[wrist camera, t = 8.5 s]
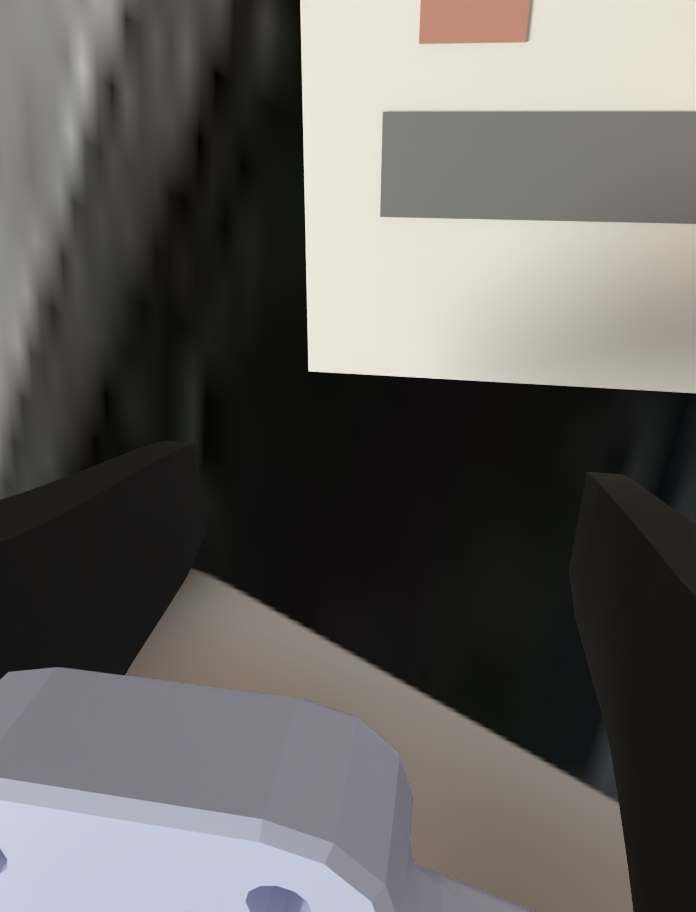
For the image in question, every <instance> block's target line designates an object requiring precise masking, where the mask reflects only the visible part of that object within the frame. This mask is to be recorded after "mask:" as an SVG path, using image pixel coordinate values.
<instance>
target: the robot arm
mask: <svg viewBox="0 0 696 912" xmlns="http://www.w3.org/2000/svg"><path fill="white" fill-rule="evenodd" d="M204 536H205V527H204V518H203V508H202V499H201V489H200V479H199V470H198V460H197V451H196V443H191V442H177V441H162V442H157V443H154V444H150V445H147V446H145V447H142V448H139V449H136V450H134V451H131V452H128V453H126V454H123V455H121V456H118V457H116V458H113V459H111V460H108V461H106V462H104V463H101V464H99V465H96V466H94V467H91V468H89V469H86V470H84V471H81V472H79V473H76V474H73V475H71V476H68V477H65V478H63V479H60V480H57V481H54V482H52V483H49V484H46V485H43V486H41V487H38V488H35V489H33V490H30V491H27V492H24V493H21V494H18V495H15V496H11V497H8V498H5V499H2V500H0V912H535V911H533V910H530V909H528V908H525V907H523V906H520V905H518V904H515V903H513V902H510V901H508V900H505V899H503V898H500V897H498V896H495V895H493V894H490V893H488V892H485V891H483V890H480V889H478V888H475V887H473V886H470V885H468V884H465V883H463V882H460V881H458V880H455V879H453V878H450V877H448V876H445V875H443V874H440V873H438V872H435V871H433V870H430V869H428V868H425V867H423V866H420V865H418V864H415V862H414V860H413V858H412V851H411V844H410V832H411V818H412V804H413V796H412V793H411V789H410V786H409V783H408V780H407V776H406V773H405V770H404V767H403V763H402V760H401V757H400V755H399V754H398V753H397V752H396V751H395V750H394V749H392V748H391V747H390V746H389V745H388V744H387V743H386V742H384V741H383V740H382V739H381V738H380V737H379V736H378V735H376V734H375V733H374V732H373V731H372V730H370V728H369V727H367V726H366V725H365V724H364V723H363V722H362V721H361V720H359V719H358V718H357V717H355V716H353V715H350V714H347V713H344V712H341V711H338V710H335V709H332V708H329V707H326V706H323V705H320V704H317V703H314V702H311V701H308V700H305V699H302V698H295V697H287V696H279V695H271V694H264V693H255V692H248V691H241V690H233V689H225V688H217V687H210V686H201V685H194V684H187V683H178V682H170V681H163V680H155V679H147V678H140V677H132V676H125V674H126V672H127V671H128V669H129V667H130V666H131V664H132V662H133V660H134V659H135V657H136V656H137V654H138V653H139V651H140V650H141V648H142V647H143V645H144V643H145V642H146V640H147V639H148V637H149V635H150V634H151V633H152V631H153V629H154V628H155V626H156V625H157V623H158V622H159V620H160V619H161V617H162V615H163V614H164V612H165V611H166V609H167V608H168V606H169V604H170V603H171V601H172V600H173V598H174V596H175V595H176V593H177V592H178V590H179V588H180V587H181V585H182V584H183V582H184V580H185V579H186V577H187V575H188V573H189V571H190V569H191V567H192V564H193V562H194V560H195V558H196V556H197V553H198V551H199V548H200V546H201V543H202V541H203V539H204ZM569 570H570V579H571V588H572V597H573V604H574V612H575V618H576V621H577V625H578V629H579V633H580V637H581V640H582V644H583V648H584V651H585V655H586V658H587V662H588V666H589V669H590V673H591V676H592V680H593V683H594V687H595V691H596V694H597V698H598V701H599V705H600V708H601V712H602V716H603V719H604V723H605V727H606V731H607V736H608V740H609V745H610V749H611V755H612V762H613V768H614V774H615V780H616V787H617V793H618V799H619V805H620V813H621V820H622V826H623V834H624V841H625V848H626V855H627V862H628V870H629V878H630V886H631V894H632V902H633V911H634V912H696V525H694V524H693V523H692V522H690V521H689V520H687V519H686V518H685V517H683V516H682V515H680V514H679V513H678V512H676V511H675V510H674V509H672V508H671V507H669V506H668V505H667V504H665V503H664V502H663V501H661V500H660V499H659V498H657V497H656V496H655V495H653V494H652V493H650V492H649V491H648V490H646V489H645V488H644V487H642V486H641V485H639V484H638V483H636V482H635V481H633V480H632V479H630V478H629V477H627V476H625V475H621V474H607V473H594V472H587V474H586V480H585V485H584V491H583V496H582V502H581V507H580V513H579V519H578V524H577V530H576V535H575V541H574V546H573V552H572V557H571V563H570V568H569Z"/></svg>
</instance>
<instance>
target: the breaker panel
mask: <svg viewBox="0 0 696 912" xmlns="http://www.w3.org/2000/svg"><path fill="white" fill-rule="evenodd" d="M300 9H301V54H302V99H303V143H304V188H305V233H306V278H307V323H308V368H309V371H313V372H331V373H348V374H366V375H384V376H401V377H419V378H437V379H454V380H472V381H489V382H507V383H525V384H542V385H560V386H578V387H595V388H613V389H631V390H648V391H666V392H683V393H696V0H300Z"/></svg>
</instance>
